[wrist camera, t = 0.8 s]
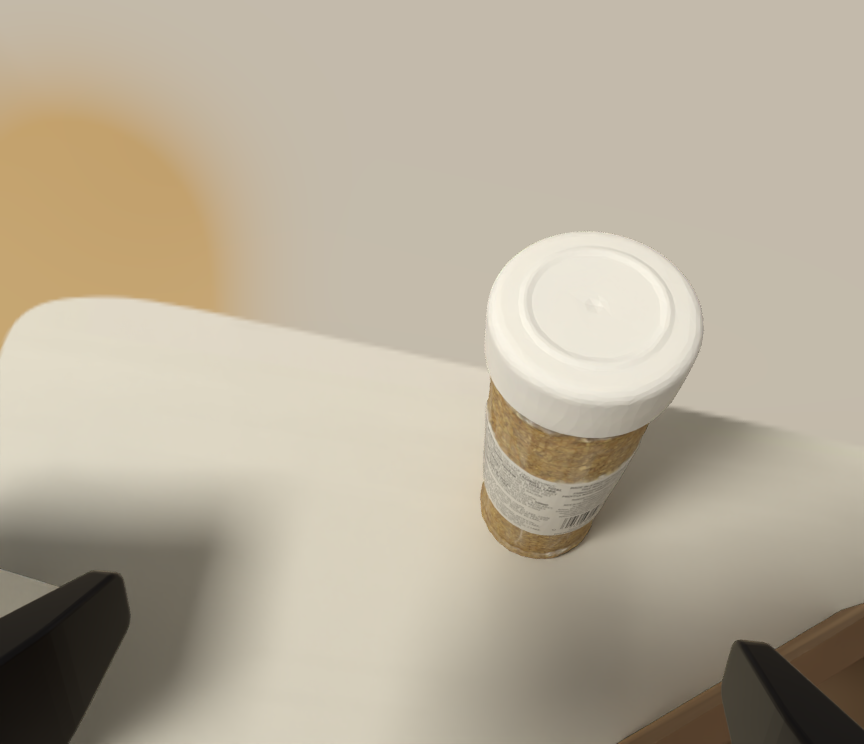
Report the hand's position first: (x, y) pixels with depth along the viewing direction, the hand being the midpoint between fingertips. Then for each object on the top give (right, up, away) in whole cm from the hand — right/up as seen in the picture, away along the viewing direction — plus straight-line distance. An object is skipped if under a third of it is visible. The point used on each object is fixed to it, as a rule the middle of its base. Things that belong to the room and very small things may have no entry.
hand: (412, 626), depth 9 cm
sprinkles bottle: (+4, -2, +15) cm, 16 cm away
